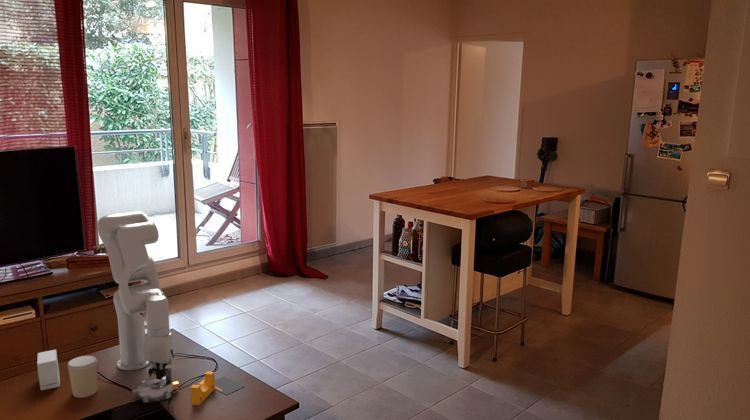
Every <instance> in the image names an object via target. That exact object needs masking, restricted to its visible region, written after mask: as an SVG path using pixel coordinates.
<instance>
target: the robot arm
mask: <svg viewBox="0 0 750 420" xmlns="http://www.w3.org/2000/svg"><path fill="white" fill-rule="evenodd" d="M96 225H97V232H98V233H97V234H98V236H99V238H100V240H101V242H102V244H103V245H104V247H105V249H106V253H107V256H108V261H109V265H110V269H111V274H112V278H113V280H114V282H115V283H116V284H118V289H117V290H116V291H115V292H114V294H113V304H114V308H115V311H116V317H117V324H118V325H117V329H118V340H119V351H118V354H120V359H119V360H118V361H117V362H116V367H117V369H119V370H122V371H135V370H136V371H137V370H140V369H141V370H142V369H143V368H145V367H148V365H150V364H152V367H153V369H155V372H154V373H155V379H160V380H161V379H162V378H163V377H166V375H165V369H166V368H167V366H171V365H174V363H175V361H174V358H175V346H174V340H173V336H172V333H171V332H170V331H171V330H170V316H169V314H170V313H169V310H170V309H169V299H168V297H167V296H166V295H165V293H164V292H163V291H162V289H161V284H160V279H159V275H158V271H157V270H158V269H157V267H156V263H155V261H154V259H153V258H152V257H151V256H149V254H148V251H147V247H146V245H151V244H154V243H155V244H156V243H157V242H158V241H159V237H160V236H159V235H160V234H159V229H158V228H157V225H156V223H155V222H154V221H153V220H152V219H151V218H150V217H149V216H148V215H147V214H146V213H145V212H143V211H139V210H137V211H130V212H119V213H112V214H107V215H104V216H101V217H100V218H99V219H98V221H97V224H96ZM140 281H143V283H139V284H134V285H133V284H132V285H130V286H129V284H130V283H134V282H140ZM141 313H142V314H143V313H145V318H144V316H143V315H142V314H141ZM145 320H146V321H145ZM145 322H146V323H145Z"/></svg>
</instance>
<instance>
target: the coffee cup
mask: <svg viewBox="0 0 750 420" xmlns="http://www.w3.org/2000/svg"><path fill="white" fill-rule="evenodd" d="M67 368H68V374H69V380H70V385H71V391H72V395H73V397H75V398H87V397H88V398H89V397H91V396H93V395H94V394H95V393H97V391H98V359H97V358H96V357H95V356H93V355H81V356H76V357H74V358H72V359H71V360H69V361H68V363H67Z"/></svg>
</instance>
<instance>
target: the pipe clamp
mask: <svg viewBox="0 0 750 420" xmlns="http://www.w3.org/2000/svg"><path fill="white" fill-rule="evenodd" d="M215 379H216V378H215V371H209V370H208V371H206V372H205V373H204V379H202V380H201V381H200V382H199V383H198V384H192V385H191V386H190V397H191V405H192V406H200V405H201V404H202V403H203V402H204V401H205V400H206V399H207V398H208V397H209V396H210V394H211V393H212V392H213V391H214V390H215Z"/></svg>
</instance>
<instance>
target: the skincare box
mask: <svg viewBox="0 0 750 420" xmlns="http://www.w3.org/2000/svg"><path fill="white" fill-rule="evenodd" d="M57 352H58V351H57V349H52V350H45V351H40V352H38V353H37V361H36V363H37V364H36V365H37V375H38V376H37V377H38V383H39V388H40V391H44V390H45V391H46V390H49V389H54V388H58V387H61V379H60V378H61V377H60V369H59V361H58V353H57Z"/></svg>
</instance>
